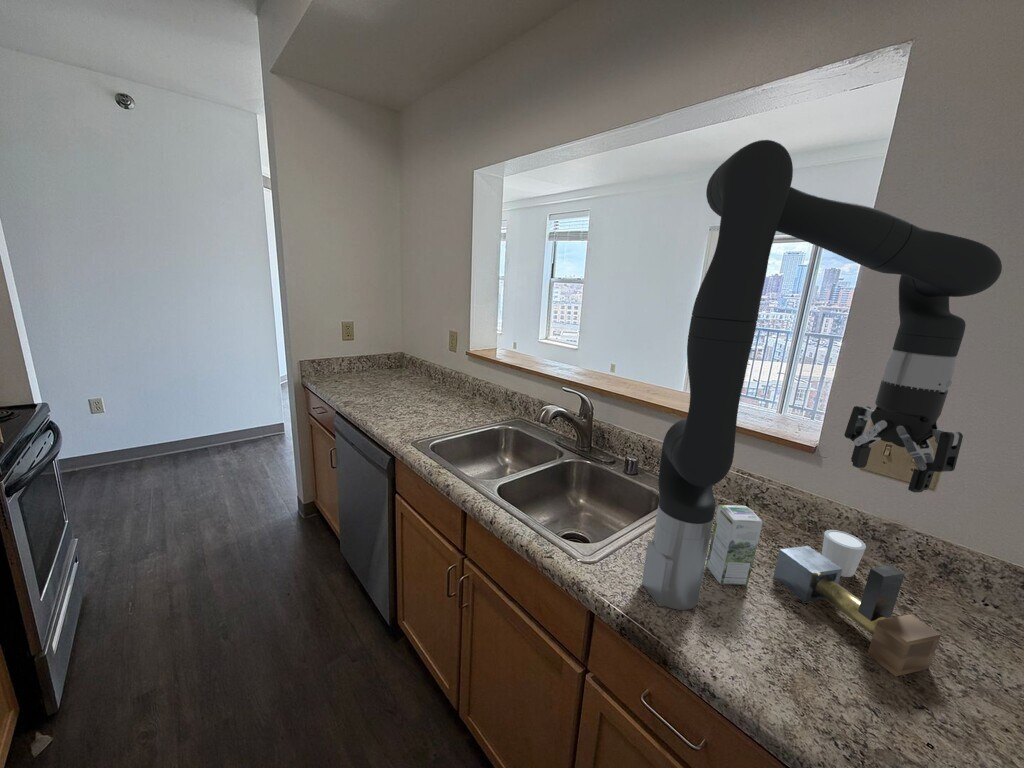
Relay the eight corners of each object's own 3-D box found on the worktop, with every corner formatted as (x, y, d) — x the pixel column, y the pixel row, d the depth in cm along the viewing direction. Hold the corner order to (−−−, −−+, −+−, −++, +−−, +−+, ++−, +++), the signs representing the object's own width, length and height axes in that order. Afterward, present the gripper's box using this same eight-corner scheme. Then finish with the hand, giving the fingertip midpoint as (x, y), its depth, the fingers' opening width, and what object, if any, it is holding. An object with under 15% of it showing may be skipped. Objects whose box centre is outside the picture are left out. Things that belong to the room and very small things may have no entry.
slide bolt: (811, 595, 76) (826, 540, 73) (830, 592, 77) (845, 538, 74) (889, 655, 64) (909, 592, 61) (909, 651, 65) (931, 588, 62)
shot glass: (814, 566, 86) (821, 537, 85) (820, 553, 91) (827, 525, 90) (855, 584, 82) (864, 553, 80) (859, 569, 87) (868, 539, 85)
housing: (773, 577, 83) (779, 549, 81) (801, 572, 84) (807, 545, 83) (804, 602, 76) (812, 573, 74) (834, 597, 78) (842, 568, 76)
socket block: (867, 653, 66) (877, 620, 64) (899, 646, 67) (910, 614, 66) (895, 676, 62) (907, 641, 60) (928, 668, 64) (940, 634, 62)
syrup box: (732, 566, 85) (745, 503, 82) (749, 586, 79) (763, 520, 76) (705, 565, 85) (717, 502, 81) (720, 586, 79) (733, 519, 76)
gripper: (849, 371, 69) (825, 461, 73) (954, 394, 55) (918, 502, 59) (883, 372, 70) (858, 459, 74) (993, 394, 57) (956, 499, 61)
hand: (885, 478), depth 67 cm, fingers open, 8 cm apart
